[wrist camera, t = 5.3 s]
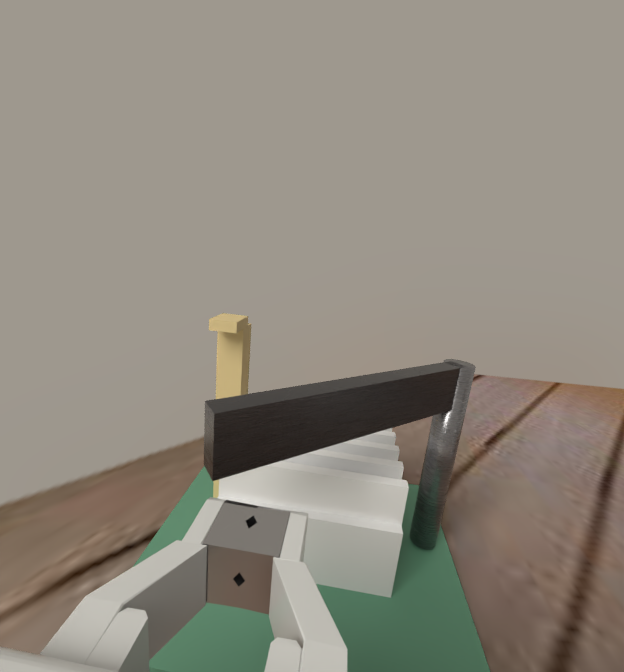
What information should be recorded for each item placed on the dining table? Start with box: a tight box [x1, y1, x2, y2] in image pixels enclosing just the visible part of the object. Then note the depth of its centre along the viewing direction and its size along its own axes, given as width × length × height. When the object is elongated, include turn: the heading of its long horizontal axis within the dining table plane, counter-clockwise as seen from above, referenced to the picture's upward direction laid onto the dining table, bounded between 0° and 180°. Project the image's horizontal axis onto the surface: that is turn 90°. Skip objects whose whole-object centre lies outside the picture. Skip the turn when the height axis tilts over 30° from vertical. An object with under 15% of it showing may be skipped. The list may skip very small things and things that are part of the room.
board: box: [133, 313, 490, 672], centre depth 23 cm, size 22×18×17 cm
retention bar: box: [204, 359, 475, 550], centre depth 20 cm, size 18×2×14 cm, turn 123°
